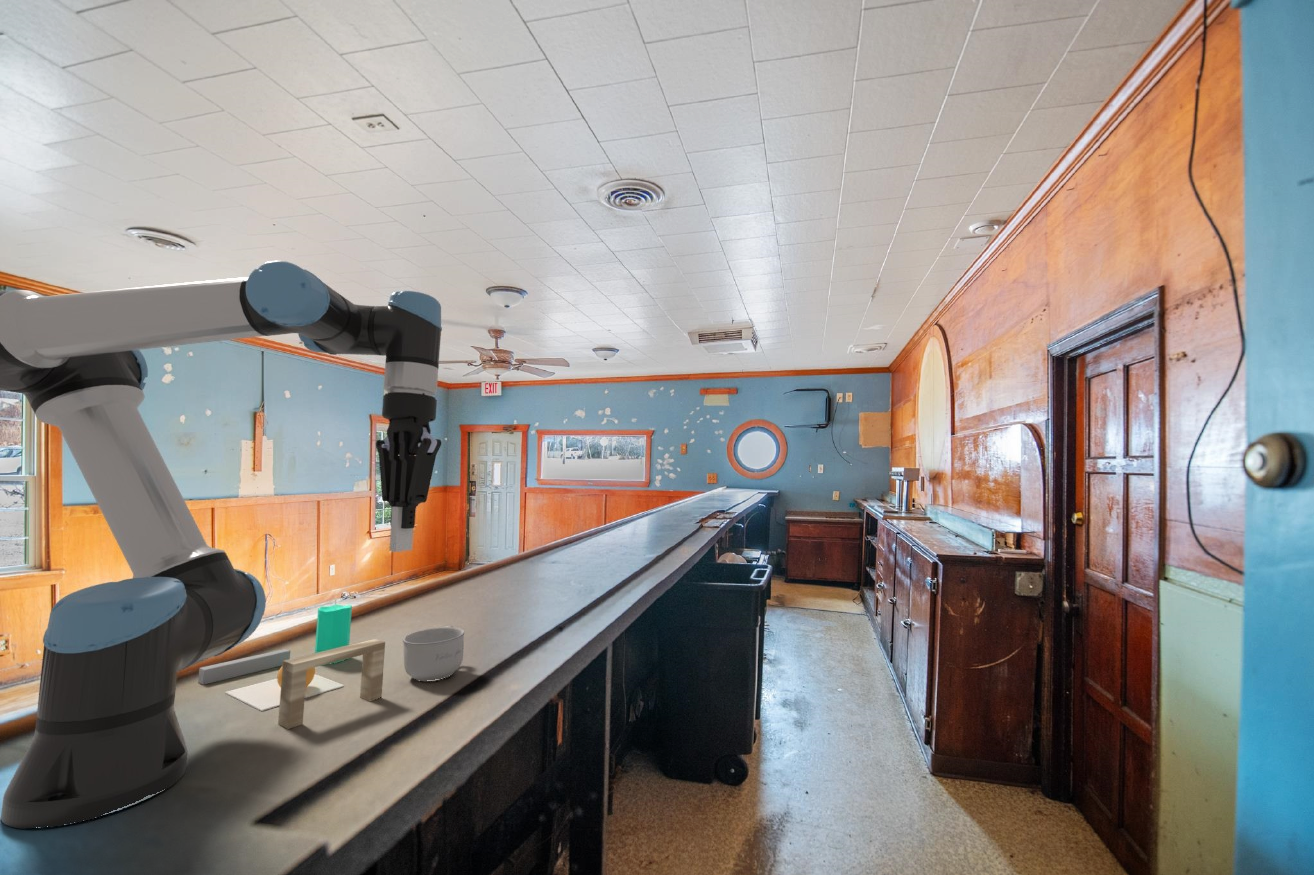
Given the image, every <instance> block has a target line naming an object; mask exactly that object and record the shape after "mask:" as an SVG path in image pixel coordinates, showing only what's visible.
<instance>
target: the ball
mask: <svg viewBox="0 0 1314 875" xmlns="http://www.w3.org/2000/svg"><path fill="white" fill-rule="evenodd" d="M282 669H283V665H282V666H280V668H279V670H278V673H277V678H276V679H277V681H278V684H279V686H280V687H281V681H282ZM315 674H316V667H313V668H310V669H307V674H306V687H307V686H308V685H309V684H310V683H311V681H312V680H313V678H314V675H315Z"/></svg>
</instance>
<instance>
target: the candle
mask: <svg viewBox="0 0 1314 875" xmlns="http://www.w3.org/2000/svg"><path fill="white" fill-rule="evenodd" d="M352 612H353V606H352V605H351V604H347V605H341V604H337V599H335V602H334V604H333V605H329V606H320V607H319V608H318V609H317V619H316V630H315V631H316V633H315V645H314V646H315V647H314V653H318V652H322V651H326V650H331V649H335V648H339V647H343V646H347V645H350V638H351V626H352V625H351V624H352V623H351V622H352ZM344 660H345V659H344ZM344 660H341V661H342V662H344ZM345 661H346V660H345ZM337 662H340V661H337ZM337 662H333V663H334V664H338V663H337ZM340 663H341V662H340ZM328 665H331V664H330V663H329V664H328Z"/></svg>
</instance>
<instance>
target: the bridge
mask: <svg viewBox="0 0 1314 875" xmlns="http://www.w3.org/2000/svg"><path fill="white" fill-rule="evenodd" d="M385 648H386V641H383V640H380V639H376V638H373V639H370V640H366V641H361V642H357V643H353V644H349V645H347V646H343V647H339V648H335V649H331V650H326V651H322V652H318V653H315V652H314V653H309V654H306V655H301V656H298V657H293V658H290V659H288V660H284V661H283V665H282V666H283V669H282V681H281V694H280V706H278V708H279V709H278V721H277V725H280V726H281V727H283V728H285V729H287V730H289V729H292V728H296V727H299V726H301V725H303V724H304V714H305V713H304V712H305V700H306V698H305V687H306V674H307V669H310V668H313V667H315V668H317V667H320V666H324V665H330V664H329V663H333V662H337V661H341V660H344V659H347V660H348V659H353V658H355V657H356V658H357V657H359V656H362V661H361V662H362V664H361V675H360V676H361V677H360V690H359V691H360V692H359V698H361V699H363V700H366V701H368V702H373V701H375V699H376V700H378V698H379V699H381V698H380V697H382V694H383V683H384V682H383V680H384V665H385ZM372 700H373V701H372Z"/></svg>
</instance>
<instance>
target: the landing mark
mask: <svg viewBox="0 0 1314 875" xmlns="http://www.w3.org/2000/svg"><path fill="white" fill-rule="evenodd" d="M344 687H345V684H342V683H339V682H337V681H334V680H331V679H328V678H326V677H325V676H322V675H318V674H316V673H315V675H314V678H313V680H312V681H311V683H310V684H309V685H308V686H307V687H305V699H308V698H310V697H314V696H317V695H320V694H325V693H328V692H330V691H333V690H336V689H340V688H344ZM224 694H225V695H228V696H230V697H232V698H234V699H236V700H238V701H240V702H242V703H244V704H246V705H248V706H249V707H252V708H254V709H256V710H258V711H260V712H264V711H267V710H271V709H274V708H277V707H279V706H280V694H281V687H280V686H279V684H278V681H277V678H274V679H273V678H272V679H269V680H266V681H265V680H264V681H262V682H258V683H255V684H251V685H247V686H243V687H239V688H236V689H235V688H234V689H232V690H228V691H225V692H224Z"/></svg>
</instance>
